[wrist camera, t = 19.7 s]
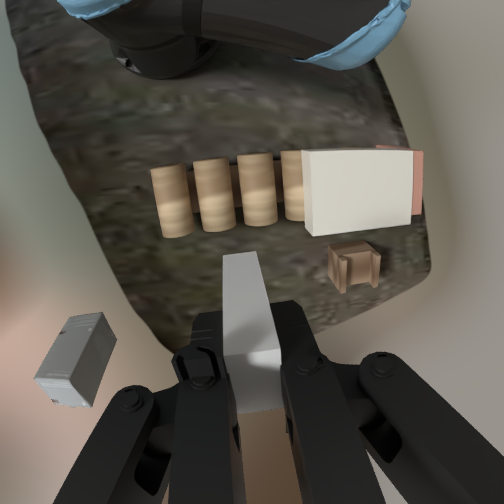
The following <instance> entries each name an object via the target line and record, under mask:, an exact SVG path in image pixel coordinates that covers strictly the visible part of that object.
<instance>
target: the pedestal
mask: <svg viewBox="0 0 504 504" xmlns="http://www.w3.org/2000/svg"><path fill="white" fill-rule="evenodd" d="M380 259H381V255H380V254H379V253H378V252H377V251H375V249H373V248H372V247H371V246H370V245H369V244H368V243H367V242H365V241H364V240H362V241H355V242H347V243H340V244H332V245H328V276H329V277H330V279H331V280H332V282H333V283H334V285H335V286H336V287H337V289H338V290H339V292H340V293H345V291H346V286H347V285H353V284H358V283H364V282H369V283H370V284H371V285H372V286H373V287H378V279H379V270H380Z"/></svg>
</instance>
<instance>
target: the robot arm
mask: <svg viewBox="0 0 504 504" xmlns="http://www.w3.org/2000/svg"><path fill="white" fill-rule="evenodd" d="M57 1H58V2H59V3H60V4H61V5H62V6H63V7H64V8H65V9H66V10H67V12H68V13H69V14H70V15H72V16H74V17H75V18H76V17H77V18H78V19H81V20H83V21H84V22H86V23H87V24H89V25H90V26H91V27H93V28H94V29H96V30H97V31H99V32H100V33H102V34H103V35H104V36H106V37H107V38H109V41H110V46H111V50H112V52H113V55H114V56H115V58H116V59H117V61H118V62H119V63H120V64H121V65H122V66H123V67H125V68H126V69H128V70H129V71H131V72H132V73H134V74H136V75H139V76H141V77H145V78H150V79H168V78H173V77H177V76H181V75H184V74H186V73H189V72H191V71H193V70H194V69H196V68H198V67H199V66H201V65H202V64H203V63H205V62H206V61H207V60H208V59H209V58H210V57H211V56H212V55H213V54H214V52H215V51H216V50H217V48H218V47H219V45H220V43H221V41H224V42H229V43H235V44H240V45H244V46H249V47H253V48H258V49H262V50H266V51H270V52H274V53H277V54H281V55H285V56H288V57H291V58H292V60H295V61H297V62H309V63H313V64H316V65H319V66H323V67H326V68H329V69H333V70H345V69H354V68H357V67H359V66H361V65H363V64H365V63H367V62H368V61H370V60H371V59H373V58H374V57H375V56H377V55H378V54H379V53H380V52H381V51H382V50H383V49H384V48H385V47H386V46H387V45H388V44H389V43H390V42H391V41H392V39H393V38H394V37H395V36H396V34H397V33H398V31H399V30H400V28H401V27H402V25H403V23H404V21H405V19H406V14H405V13H404V12H405V11H406V10H407V9H408V8H409V7H410V5H411V0H57ZM171 362H172V365H173V367H174V370H175V372H176V375H177V378H178V380H179V383H177V384H176V385H174V386H173V387H171V388H168V389H165V390H162V391H158V392H155V393H152V392H151V391H150V390H149V389H148V388H146V387H143V386H141V385H132V386H128V387H125V388H123V389H121V390H120V391H118V392H117V393H116V394H115V396H113V398H112V399H111V401H110V403H109V404H108V406H107V408H106V409H105V411H104V413H103V414H102V416H101V418H100V419H99V421H98V423H97V425H96V426H95V428H94V430H93V432H92V433H91V435H90V437H89V438H88V440H87V442H86V444H85V445H84V447H83V449H82V451H81V452H80V454H79V456H78V458H77V460H76V461H75V463H74V465H73V467H72V468H71V470H70V472H69V474H68V476H67V478H66V480H65V481H64V483H63V485H62V487H61V489H60V491H59V493H58V494H57V496H56V498H55V500H54V503H53V504H161V503H162V500H163V498H164V495H165V492H166V490H167V487H168V484H169V499H168V504H246V493H245V483H244V474H243V462H242V451H241V439H240V428H239V424H238V420H237V413H238V414H240V413H248V412H256V411H264V410H272V409H277V408H284V409H285V413H286V415H285V416H286V433H288V434H289V439H290V444H291V449H292V454H293V459H294V463H295V468H296V473H297V478H298V483H299V488H300V492H301V497H302V502H303V504H386V502H385V499H384V496H383V494H382V491H381V488H380V486H379V483H378V480H377V478H376V475H375V472H374V470H373V467H372V464H371V462H370V459H369V456H368V454H367V451H368V452H369V454H370V455H371V456H372V458H373V459H374V460H375V462H376V463H377V464H378V466H379V467H380V468H381V469H382V471H383V472H384V473H385V475H386V476H387V477H388V478H389V480H390V481H391V482H392V484H393V485H394V486H395V488H396V489H397V490H398V491H399V493H400V494H401V495H402V496H403V498H404V499H405V500H406V501H407V503H408V504H504V456H502V455H501V453H500V452H499V451H498V450H497V449H495V448H494V447H493V446H492V445H491V444H490V443H489V442H488V441H487V440H486V439H485V438H484V437H483V436H482V435H481V434H480V433H479V432H478V431H477V430H476V429H475V428H474V427H473V426H472V425H471V424H470V423H469V422H468V421H467V420H466V419H465V418H464V417H462V416H461V415H460V414H459V413H458V412H457V411H456V410H455V409H454V408H453V407H451V405H450V404H449V403H448V402H447V401H446V400H445V399H444V398H442V397H441V396H440V395H439V394H438V393H437V392H436V391H435V390H434V389H433V388H432V387H431V386H429V384H427V383H426V382H425V381H424V380H423V379H422V378H421V377H420V376H419V375H418V374H417V373H416V372H415V371H413V370H412V369H411V368H410V367H409V366H408V365H407V364H406V363H405V362H404V361H403V360H402V359H400V358H399V357H397V356H396V355H394V354H392V353H388V352H375V353H372V354H369V355H367V356H366V357H365V358H363V360H362V362H361V364H360V365H349V364H338V363H335V362H332V361H330V360H329V359H328V358H327V357H326V356H325V355H323V354H321V352H320V351H319V348H318V346H317V343H316V341H315V338H314V336H313V333H312V331H311V328H310V326H309V324H308V321H307V319H306V317H305V314H304V311H303V309H302V307H301V306H300V305H299V304H297V303H296V302H295V301H294V300H290V301H283V302H277V303H270V304H269V301H268V297H267V293H266V289H265V285H264V282H263V278H262V274H261V270H260V266H259V262H258V258H257V254H256V251H254V252H246V253H239V254H231V255H223V311H215V312H206V313H199V315H198V316H197V317H196V319H195V320H194V321H193V326H192V334H191V342H190V345H187V346H185V347H183V348H181V349H180V350H179V351H178V352H176V353H175V354H174V356H173V358H172V361H171ZM366 450H367V451H366ZM169 481H170V482H169Z"/></svg>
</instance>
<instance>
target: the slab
mask: <svg viewBox="0 0 504 504" xmlns="http://www.w3.org/2000/svg"><path fill="white" fill-rule="evenodd" d="M301 156H302V171H303V190H304V212H305V228H306V229H307V230H308V231H309V232H310V234H311V235H312V236H320V235H328V234H335V233H343V232H351V231H359V230H367V229H375V228H383V227H391V226H399V225H408V224H410V223H411V209H412V192H413V151H411V150H406V149H400V148H333V149H309V150H301Z"/></svg>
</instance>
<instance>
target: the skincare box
mask: <svg viewBox="0 0 504 504" xmlns="http://www.w3.org/2000/svg"><path fill="white" fill-rule="evenodd" d="M116 341H117V339H116V337H115V335H114V333H113V331H112V330H111V328H110V326H109V324H108V322H107V320H106V318H105V316H104V314H103V312H99V313H93V314H85V315H78V316H73V317H69V319H68V321H67V322H66V324H65V325H64V327H63V329H62V330H61V332H60V333H59V335H58V337H57V338H56V340H55V342H54V343H53V345H52V347H51V348H50V350H49V352H48V354H47V355H46V357H45V359H44V361H43V363H42V364H41V366H40V368H39V370H38V372H37V373H36V375H35V377H34V380H35V381H36V382H37V383H38V385H39V386H40V387H41V388H42V389H43V391H44V392H45V393H46V394H47V395H48V396H49V398H51V400H52V401H53V402H54V403H55V404H60V405H68V406H70V407H90V408H91V407H92V406H93V402H94V399H95V397H96V394H97V391H98V388H99V385H100V382H101V380H102V377H103V374H104V371H105V369H106V366H107V364H108V361H109V359H110V356H111V354H112V351H113V349H114V346H115V343H116Z"/></svg>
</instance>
